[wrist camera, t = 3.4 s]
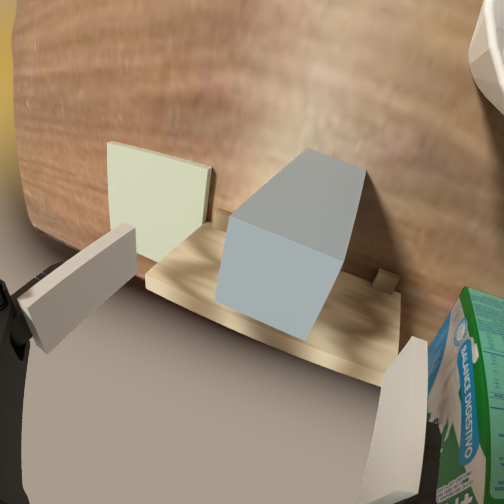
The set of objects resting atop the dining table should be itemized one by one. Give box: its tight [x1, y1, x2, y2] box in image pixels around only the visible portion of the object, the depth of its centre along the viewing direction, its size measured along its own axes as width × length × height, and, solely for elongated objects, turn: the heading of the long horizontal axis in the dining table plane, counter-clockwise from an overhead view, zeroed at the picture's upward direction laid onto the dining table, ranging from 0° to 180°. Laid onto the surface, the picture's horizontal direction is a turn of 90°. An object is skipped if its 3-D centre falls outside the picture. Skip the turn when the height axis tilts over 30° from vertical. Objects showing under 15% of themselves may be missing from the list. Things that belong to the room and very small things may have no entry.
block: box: [214, 148, 366, 341], centre depth 20 cm, size 5×5×14 cm
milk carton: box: [426, 286, 504, 504], centre depth 15 cm, size 9×9×25 cm
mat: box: [107, 141, 212, 262], centre depth 33 cm, size 13×13×1 cm
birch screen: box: [145, 208, 401, 387], centre depth 26 cm, size 20×5×10 cm, turn 79°
